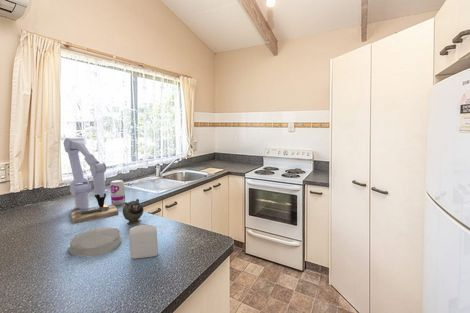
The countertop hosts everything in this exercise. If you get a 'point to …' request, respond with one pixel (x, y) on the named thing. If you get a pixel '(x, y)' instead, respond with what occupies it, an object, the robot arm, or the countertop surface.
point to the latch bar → (93, 209)
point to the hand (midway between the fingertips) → (101, 206)
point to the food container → (95, 242)
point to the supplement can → (117, 192)
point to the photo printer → (143, 241)
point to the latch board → (93, 214)
